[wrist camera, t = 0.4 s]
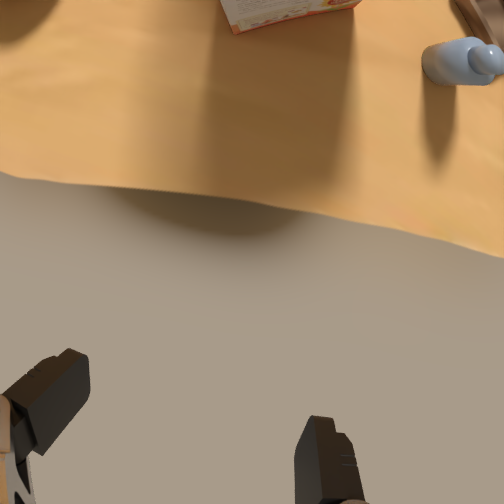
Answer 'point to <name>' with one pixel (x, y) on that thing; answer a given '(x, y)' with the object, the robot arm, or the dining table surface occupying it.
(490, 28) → the caddy
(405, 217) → the dining table surface
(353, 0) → the cracker box
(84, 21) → the dining table surface
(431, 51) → the blue bottle
